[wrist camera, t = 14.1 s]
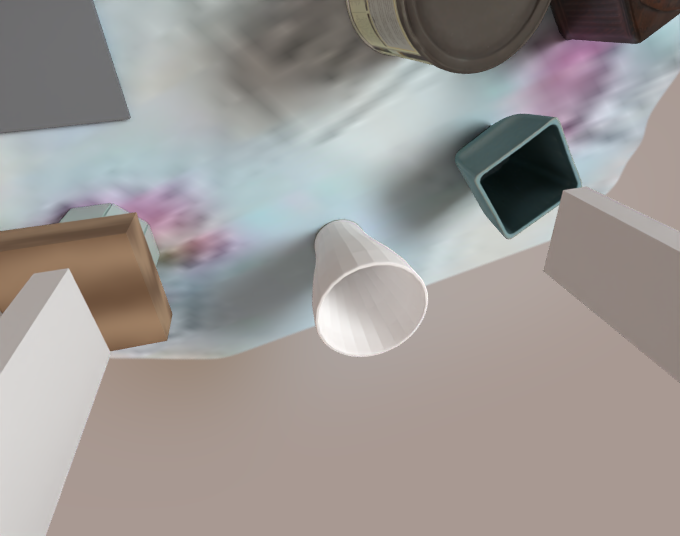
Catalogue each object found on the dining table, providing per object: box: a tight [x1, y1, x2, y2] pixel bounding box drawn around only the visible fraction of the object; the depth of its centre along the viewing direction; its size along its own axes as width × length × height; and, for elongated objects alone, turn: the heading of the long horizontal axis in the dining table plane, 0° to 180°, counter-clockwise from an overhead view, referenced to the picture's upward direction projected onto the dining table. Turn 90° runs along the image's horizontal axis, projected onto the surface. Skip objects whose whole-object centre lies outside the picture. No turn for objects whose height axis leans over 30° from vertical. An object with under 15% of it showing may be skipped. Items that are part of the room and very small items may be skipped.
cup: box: [312, 220, 428, 357], centre depth 42 cm, size 10×10×14 cm
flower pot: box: [455, 114, 582, 239], centre depth 42 cm, size 9×9×9 cm
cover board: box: [0, 212, 172, 351], centre depth 35 cm, size 11×11×4 cm
